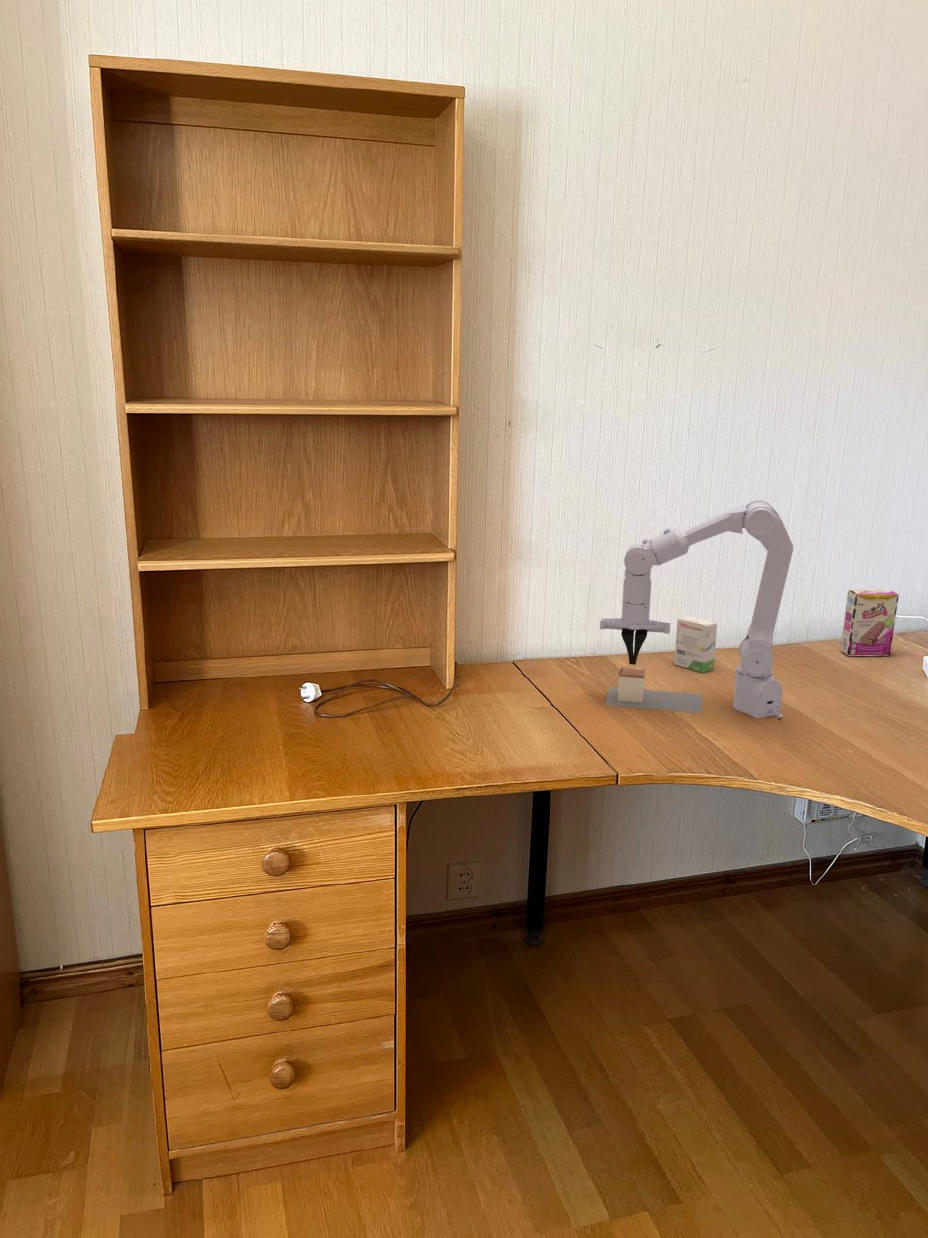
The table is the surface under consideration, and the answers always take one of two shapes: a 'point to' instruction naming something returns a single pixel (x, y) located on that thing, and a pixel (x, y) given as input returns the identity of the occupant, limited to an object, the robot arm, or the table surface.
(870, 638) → the candy bar box
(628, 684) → the peach bevelled cube
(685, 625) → the ink box
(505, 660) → the table surface
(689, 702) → the board
